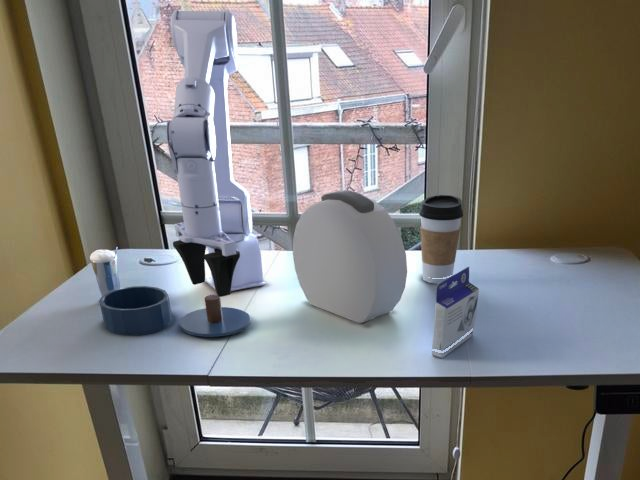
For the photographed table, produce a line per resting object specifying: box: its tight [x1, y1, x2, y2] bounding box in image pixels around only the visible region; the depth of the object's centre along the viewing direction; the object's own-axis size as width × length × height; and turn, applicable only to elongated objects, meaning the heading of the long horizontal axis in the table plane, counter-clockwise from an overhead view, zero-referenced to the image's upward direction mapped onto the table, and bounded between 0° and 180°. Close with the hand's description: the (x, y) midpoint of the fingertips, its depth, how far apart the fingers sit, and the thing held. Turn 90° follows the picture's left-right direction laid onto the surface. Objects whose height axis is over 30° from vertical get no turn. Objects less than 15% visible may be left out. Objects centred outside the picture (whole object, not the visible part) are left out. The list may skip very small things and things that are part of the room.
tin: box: [98, 285, 173, 336], centre depth 126 cm, size 11×11×4 cm
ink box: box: [431, 266, 480, 359], centre depth 118 cm, size 12×2×12 cm, turn 148°
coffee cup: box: [418, 194, 464, 285], centre depth 142 cm, size 8×8×15 cm
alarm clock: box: [292, 189, 408, 324], centre depth 128 cm, size 21×8×20 cm, turn 47°
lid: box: [178, 294, 252, 338], centre depth 125 cm, size 12×12×5 cm
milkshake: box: [89, 246, 121, 297], centre depth 132 cm, size 4×5×10 cm
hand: (211, 289), depth 122 cm, fingers open, 7 cm apart
